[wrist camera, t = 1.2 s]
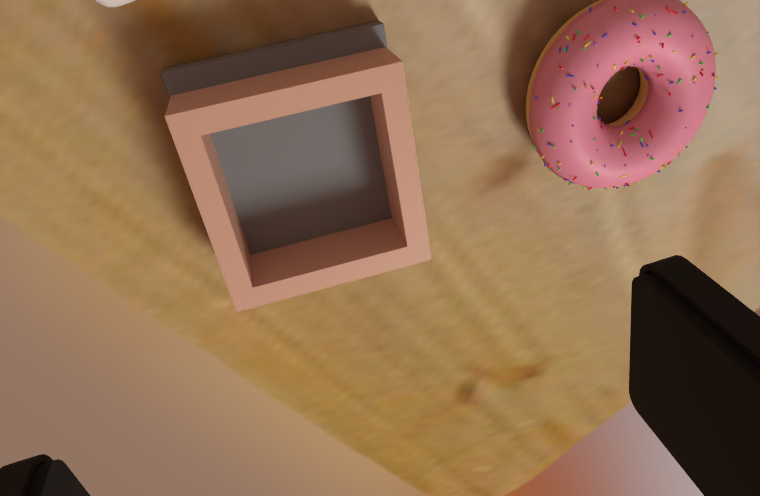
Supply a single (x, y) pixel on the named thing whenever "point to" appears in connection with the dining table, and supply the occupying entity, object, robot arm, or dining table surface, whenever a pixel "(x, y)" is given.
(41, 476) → the robot arm
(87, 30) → the dining table surface
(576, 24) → the doughnut
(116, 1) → the squeeze bottle
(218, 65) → the socket stand
